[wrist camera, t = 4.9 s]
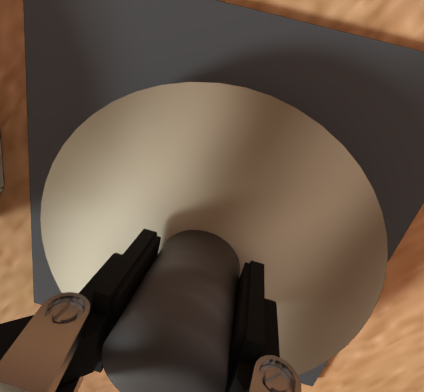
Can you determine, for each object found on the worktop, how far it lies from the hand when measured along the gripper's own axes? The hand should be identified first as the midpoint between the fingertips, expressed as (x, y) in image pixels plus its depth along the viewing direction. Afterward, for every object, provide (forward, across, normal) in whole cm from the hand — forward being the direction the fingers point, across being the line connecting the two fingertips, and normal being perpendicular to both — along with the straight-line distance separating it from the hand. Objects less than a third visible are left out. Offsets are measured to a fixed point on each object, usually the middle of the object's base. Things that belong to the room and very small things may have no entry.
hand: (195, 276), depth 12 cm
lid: (+2, 0, 0) cm, 2 cm away
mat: (+4, +1, -1) cm, 4 cm away
